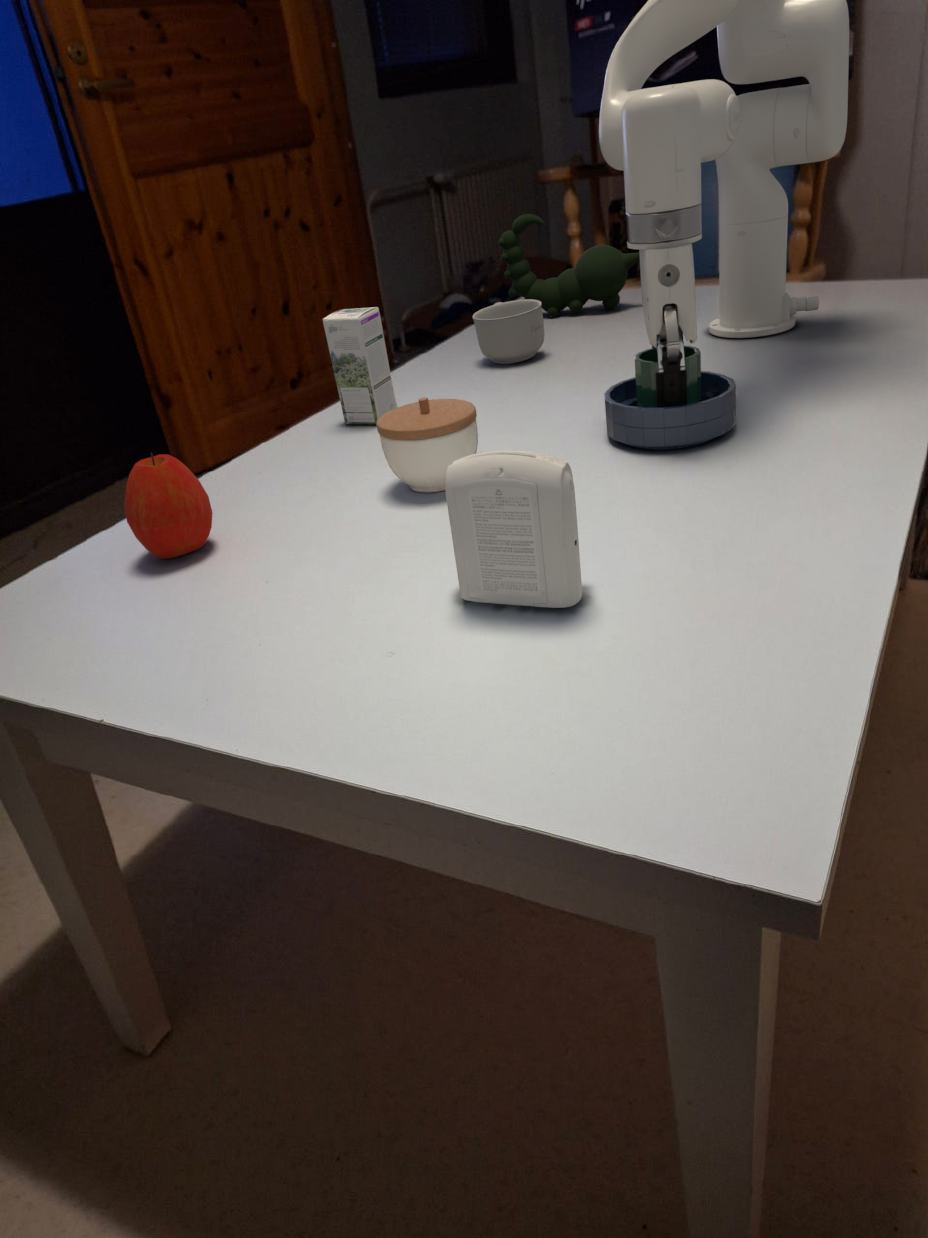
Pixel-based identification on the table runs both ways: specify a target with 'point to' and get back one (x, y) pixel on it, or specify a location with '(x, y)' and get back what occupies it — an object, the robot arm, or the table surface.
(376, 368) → the syrup box
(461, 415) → the trinket box
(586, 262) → the toy figurine
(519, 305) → the teacup
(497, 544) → the photo printer
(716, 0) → the robot arm
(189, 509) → the apple
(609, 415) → the blue bowl
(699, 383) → the green cup
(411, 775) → the table surface
